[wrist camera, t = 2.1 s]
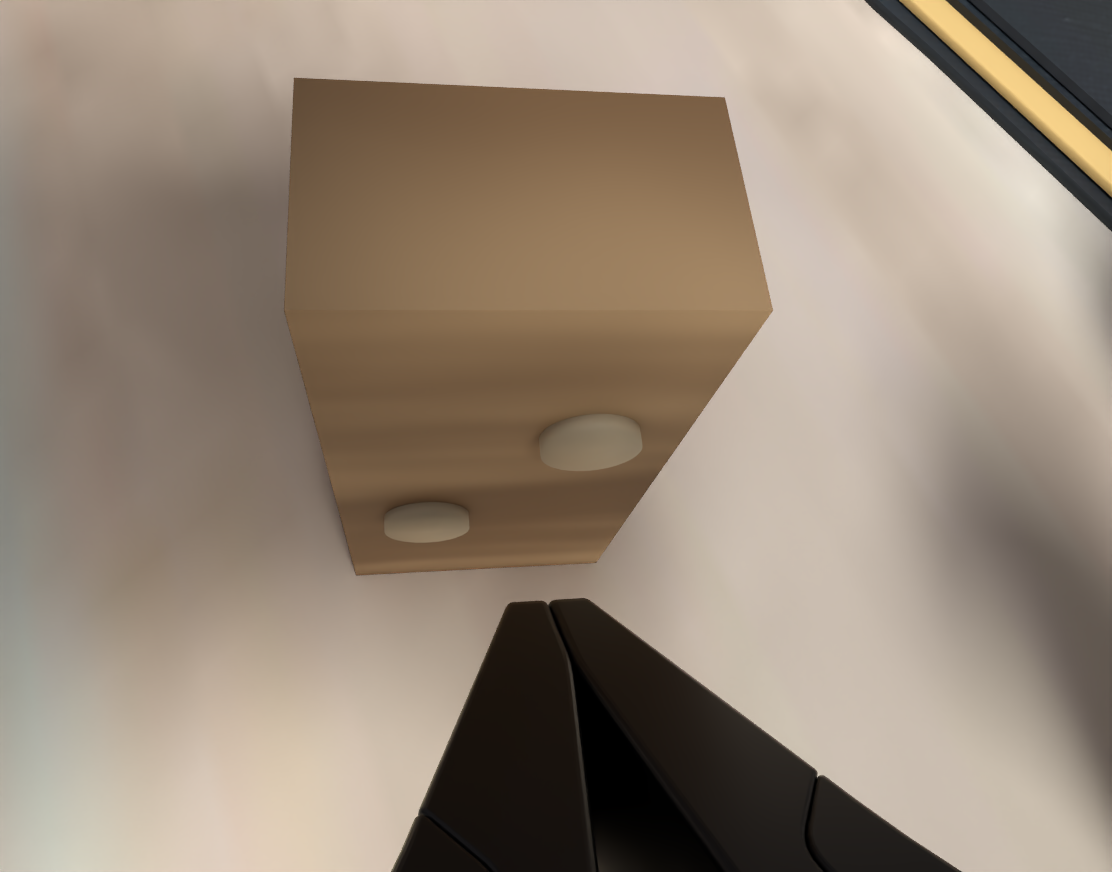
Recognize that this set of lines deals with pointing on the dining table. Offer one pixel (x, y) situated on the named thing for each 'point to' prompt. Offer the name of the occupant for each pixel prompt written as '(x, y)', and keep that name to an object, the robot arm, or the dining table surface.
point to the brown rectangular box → (509, 308)
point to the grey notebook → (1029, 77)
